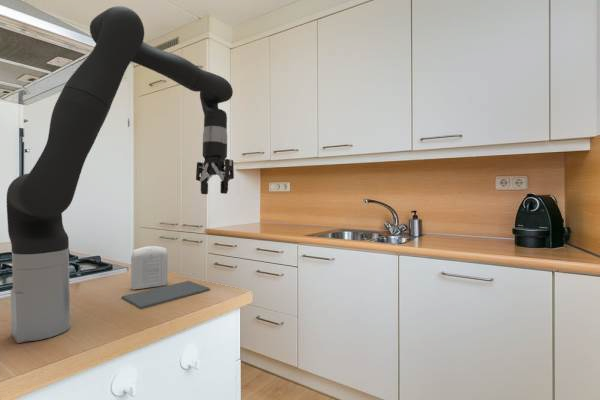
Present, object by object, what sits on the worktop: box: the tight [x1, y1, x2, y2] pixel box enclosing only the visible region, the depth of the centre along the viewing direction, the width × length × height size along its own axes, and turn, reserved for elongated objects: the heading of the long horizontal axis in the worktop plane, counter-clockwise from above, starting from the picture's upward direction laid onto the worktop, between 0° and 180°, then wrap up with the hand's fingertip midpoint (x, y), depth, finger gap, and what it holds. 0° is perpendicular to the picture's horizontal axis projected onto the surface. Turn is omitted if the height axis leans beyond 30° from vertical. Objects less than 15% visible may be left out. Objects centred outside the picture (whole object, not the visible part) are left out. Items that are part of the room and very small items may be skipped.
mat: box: [121, 280, 211, 310], centre depth 93 cm, size 20×12×1 cm, turn 139°
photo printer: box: [130, 245, 169, 291], centre depth 100 cm, size 10×4×12 cm, turn 123°
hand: (213, 193), depth 102 cm, fingers open, 8 cm apart
